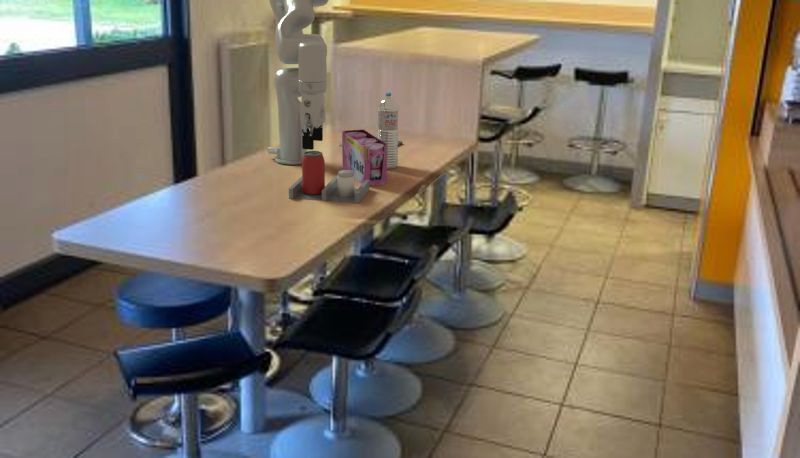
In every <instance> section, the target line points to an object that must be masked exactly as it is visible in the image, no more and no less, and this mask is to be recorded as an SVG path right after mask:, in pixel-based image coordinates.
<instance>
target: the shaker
mask: <svg viewBox="0 0 800 458" xmlns="http://www.w3.org/2000/svg"><path fill="white" fill-rule="evenodd" d="M336 178H337V182H338V196H339V197H345V198H347V197H353V196H354V195H355V189H356V188H355V186H356V185H355V180H356V179H355V175H354V172H353V171H351V170H343V169H342V170H338V172H337V177H336Z"/></svg>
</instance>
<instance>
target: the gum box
mask: <svg viewBox="0 0 800 458" xmlns="http://www.w3.org/2000/svg"><path fill="white" fill-rule="evenodd" d="M341 133H342V135H341V139H342V140H341V142H342V148H341V149H342V150H341V151H342V152H341V153H342V170H351V171H353V172H354V175H355V180H356V181H358V182H359V183H360V184H361V185H362V184H363V182H364V181H365V180H369V186H376V185H378V186H379V185H387V183H388V171H387V170H388V169H387V144H386V143H385V142H383V141H381V140H380V139H378V138H376V137H377V136H374V134H372V133H370V132H368V131H367V130H365V129H352V130H342V132H341Z"/></svg>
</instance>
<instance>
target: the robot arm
mask: <svg viewBox="0 0 800 458" xmlns="http://www.w3.org/2000/svg"><path fill="white" fill-rule="evenodd" d="M268 2H269V4H270V7H271V10H272V13H273V14H274V18H275V24H276V28H275V32H274V33H275V34H274V37H275V38H274V40H275V41H274V42H275V47H276V52H277V57H278V60H279V61H280V63H282V64H285V65H297V66H298V67H284V68H281V69H278V70H277V71H276V72H275V74H274V77H273V78H274V79H273V80H274V82H273V83H274V89H275V94H276V101H277V117H278V118H277V119H278V121H277V123H278V146H277V147H271V146H268V148H267V152H268V153H269V155H275V156H274V160H275V162H276V163H277V164H281V165H290V166H292V165H293V166H296V165H297V166H298V165H302V158H303V156H304V152H307V151H314V147H315V141H316V142H322V141H323V139H324V138H323V137H324V134H323V133H324V130H323V128H324V127H323V126H324V123H325V122H326V121H327V118H326V115H327V114H326V101H325V100H326V98H325V94H326V92H327V89H328V73H327V72H328V70H327V68H328V67H327V66H328V64H327V63H328V62H327V56H328V55H327V54H328V47H327V44H326V42H325V40H324V37H323V36H322V35H321V34H318V33H317V34H315V33H304V31H303V29H306V28H308V27H309V26H310V25H312V23H313V22H314V20H315V17H316V16H315V15H316V14H315V10H314V8H317V7H318V8H319V7H324V6H326V5H327V4H328V3H329V0H269V1H268ZM299 98H301V99H299Z"/></svg>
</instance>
